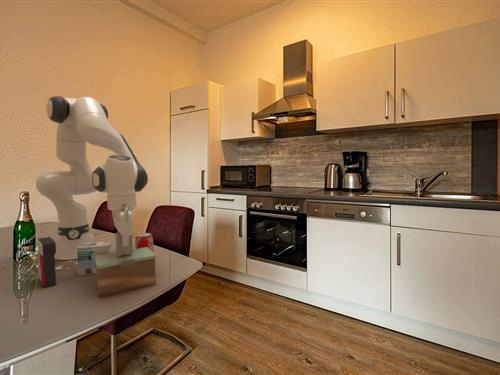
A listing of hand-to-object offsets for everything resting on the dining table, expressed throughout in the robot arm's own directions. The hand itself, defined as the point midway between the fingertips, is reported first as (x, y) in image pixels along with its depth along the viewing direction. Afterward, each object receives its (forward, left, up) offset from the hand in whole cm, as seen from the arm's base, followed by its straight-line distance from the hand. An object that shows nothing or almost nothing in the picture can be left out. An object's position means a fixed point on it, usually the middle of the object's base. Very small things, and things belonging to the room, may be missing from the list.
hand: (124, 243), depth 92 cm
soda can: (-19, +10, -14) cm, 26 cm away
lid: (+1, 0, -6) cm, 6 cm away
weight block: (0, 0, -3) cm, 3 cm away
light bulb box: (-20, -8, -14) cm, 26 cm away
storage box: (0, 0, -14) cm, 14 cm away
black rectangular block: (-18, -23, -14) cm, 33 cm away
